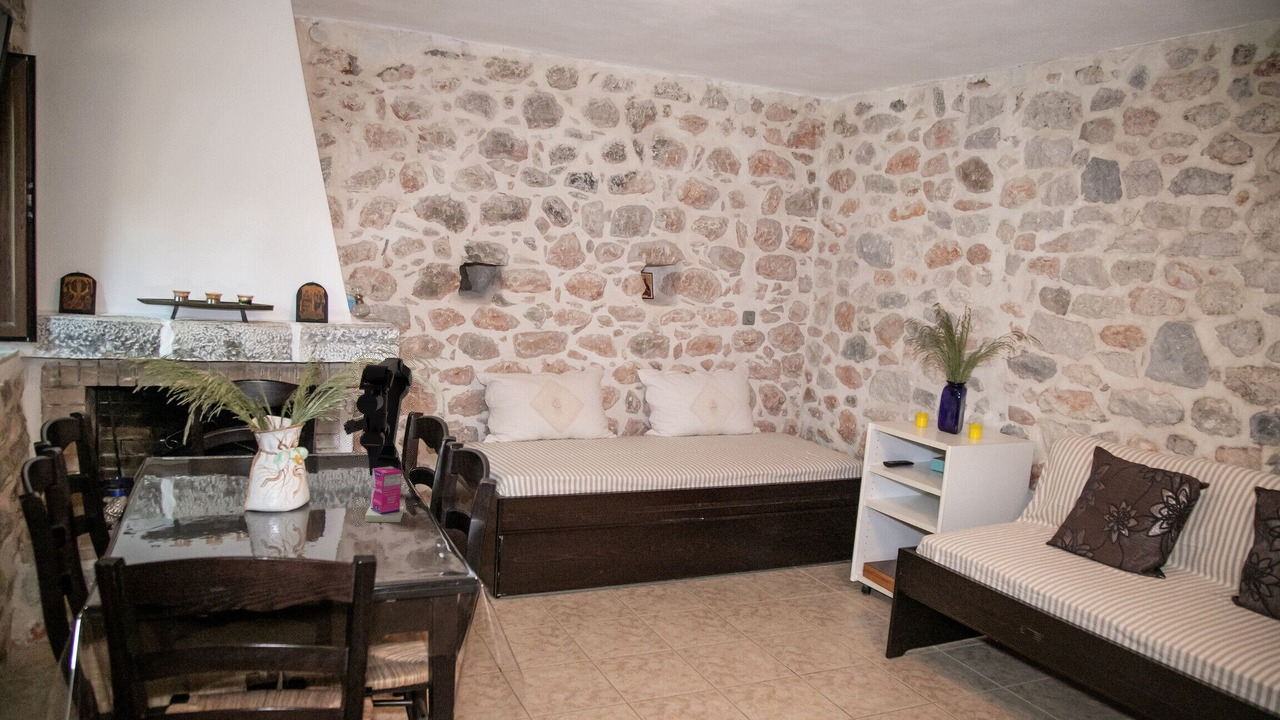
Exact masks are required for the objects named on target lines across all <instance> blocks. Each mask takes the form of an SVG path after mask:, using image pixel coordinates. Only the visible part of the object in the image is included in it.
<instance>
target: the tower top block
mask: <svg viewBox="0 0 1280 720" xmlns="http://www.w3.org/2000/svg"><path fill="white" fill-rule="evenodd" d="M404 508H405V507H404V506H403V505H400V512H394V513H387V514H380V513H378V512H376V511H374V510H372V509H371V505H369V507H368V509H367V510H366V513H365V515H364V522H366V523H368V522H370V523H401V520H402V518H403V515H404Z"/></svg>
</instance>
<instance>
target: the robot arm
mask: <svg viewBox="0 0 1280 720" xmlns="http://www.w3.org/2000/svg"><path fill="white" fill-rule="evenodd" d="M412 386H413V374H412V370H411V368H410V367H408V366H407V365H406V364H405V363H404V360H403V358H400V357H385V358H384V360H383V361H381V362H380V363H378V364H371V363H369V364H366V365H365V367H364V368H363V369H362V373H361V377H360V381H359V386H358V390H361V391H364V392H363V394H361V395H360V396H358V397H357V400H356V402H355V405H356V409H357V411H358V412H359V413H360V414H362V416H361V417H360V416H359V417H357V418H351V419H347V421H345V422H344V423H343V430H344V431H345V434H346V436H349V435H352V434H353V433H356V432H359V431H362V434H361V435H360V437H359V445H360V446H361V447H362V448H364V449H365V451H366V453H367V458H368V459H367V460H368V468H369V476H370V477H372V476H373V469H374V468H383V467H390V466H391V467H394V468H396V469H398V470H401V471H402V472H403V463H402V461H401V458H400V453H399V450H398V448H397V446H396V442H397V435H398V430H399V424H400V423H399V422H400V416H401V410H402V402H403V399H405V398H406V396H408V394H409V393H410V387H412Z"/></svg>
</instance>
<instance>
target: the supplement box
mask: <svg viewBox="0 0 1280 720" xmlns="http://www.w3.org/2000/svg"><path fill="white" fill-rule="evenodd" d="M402 476H403V470H402V471H401V470H398V469H396V468H394V467H391V466H390V467H383V468H374V469H373V476H371V478H372V479H371V480H372V481H371V496H370V506H371V509H372V510H374V511H376V512H378V513H380V514H387V513H394V512H400V506H401V494H402Z"/></svg>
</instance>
